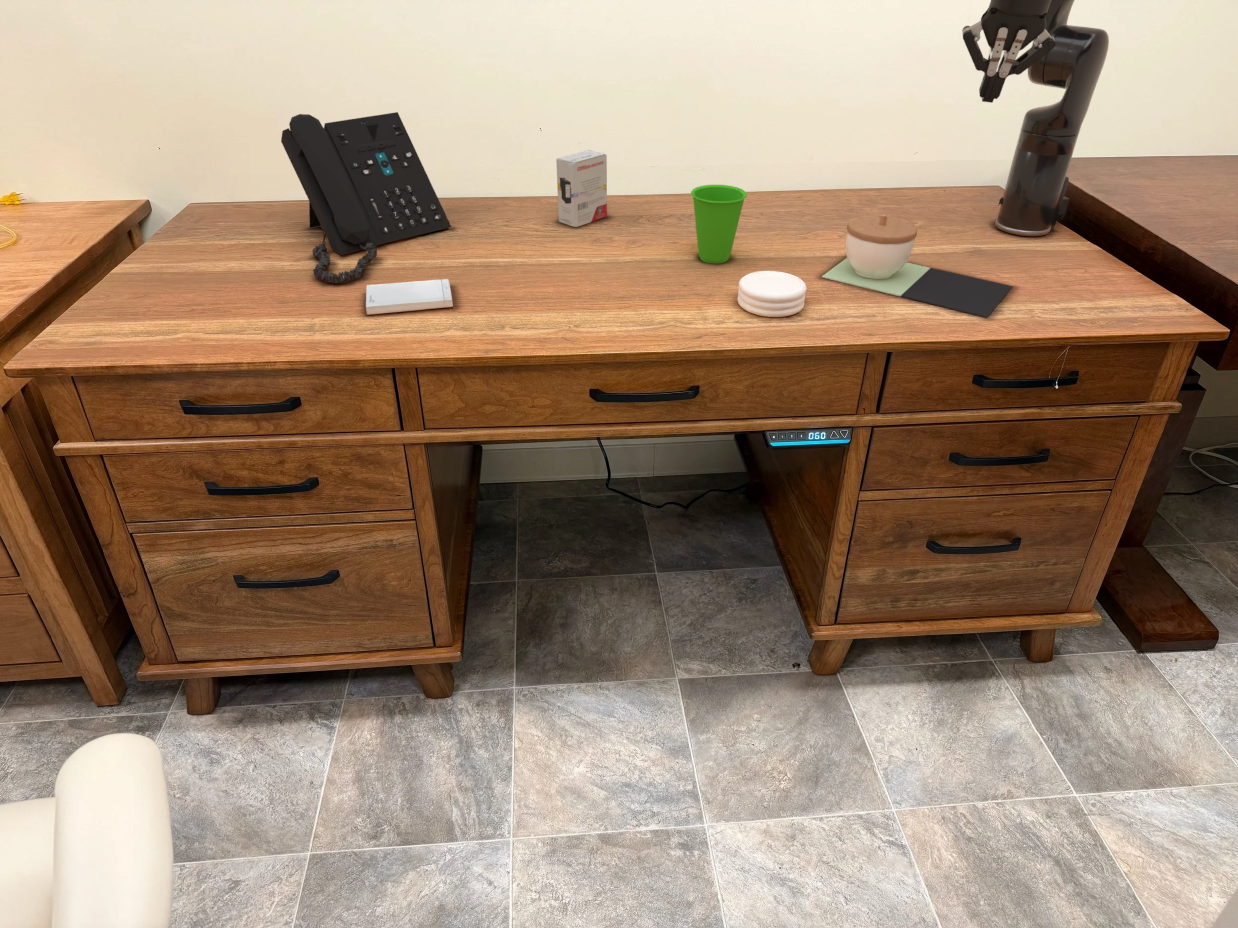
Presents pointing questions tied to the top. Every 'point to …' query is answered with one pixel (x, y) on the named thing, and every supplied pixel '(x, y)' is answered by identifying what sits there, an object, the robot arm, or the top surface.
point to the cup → (716, 220)
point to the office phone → (361, 185)
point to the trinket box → (879, 244)
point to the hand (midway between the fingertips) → (986, 100)
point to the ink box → (582, 187)
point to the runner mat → (930, 287)
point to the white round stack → (771, 293)
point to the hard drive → (408, 296)
